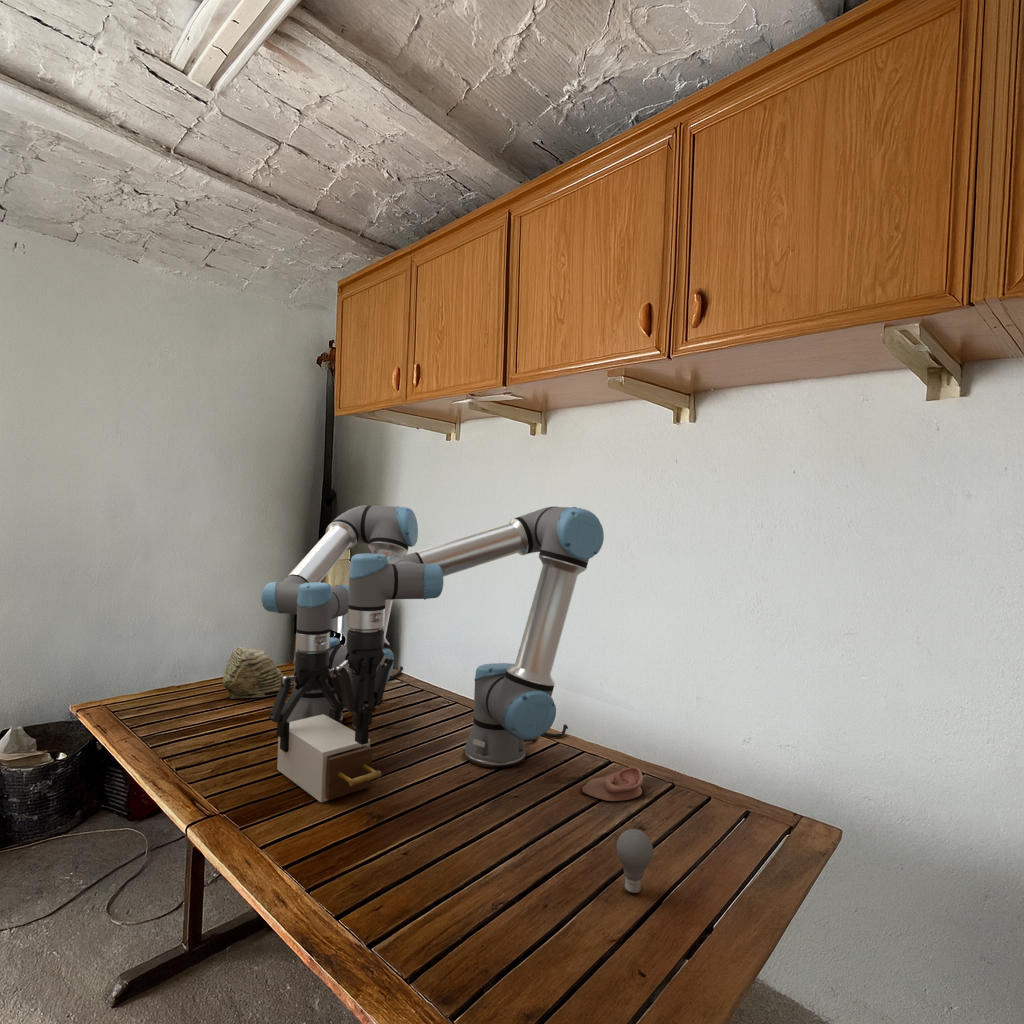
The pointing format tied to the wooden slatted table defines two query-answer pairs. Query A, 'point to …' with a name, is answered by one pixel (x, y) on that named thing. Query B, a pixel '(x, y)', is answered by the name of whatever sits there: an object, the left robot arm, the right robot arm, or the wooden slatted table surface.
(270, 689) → the fossil
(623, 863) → the light bulb
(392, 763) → the wooden slatted table surface
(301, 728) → the cabinet
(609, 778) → the anatomical model
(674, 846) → the wooden slatted table surface
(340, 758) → the drawer
